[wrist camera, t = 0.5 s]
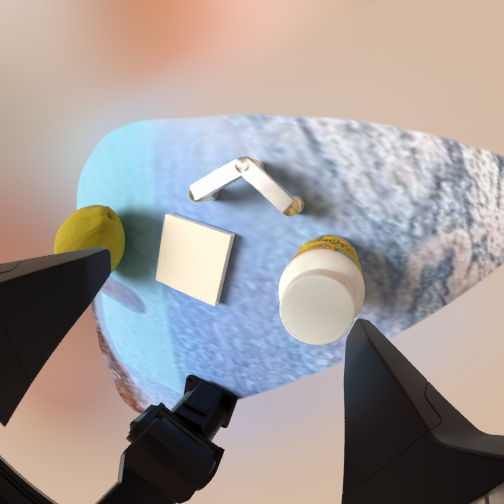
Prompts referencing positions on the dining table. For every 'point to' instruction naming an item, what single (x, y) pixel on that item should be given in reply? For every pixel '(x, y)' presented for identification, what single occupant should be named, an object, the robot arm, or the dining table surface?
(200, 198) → the bent steel bracket
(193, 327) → the dining table surface
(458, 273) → the dining table surface
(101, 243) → the lemon
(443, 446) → the robot arm
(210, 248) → the cream coaster
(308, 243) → the supplement bottle
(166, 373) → the dining table surface
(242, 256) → the dining table surface
